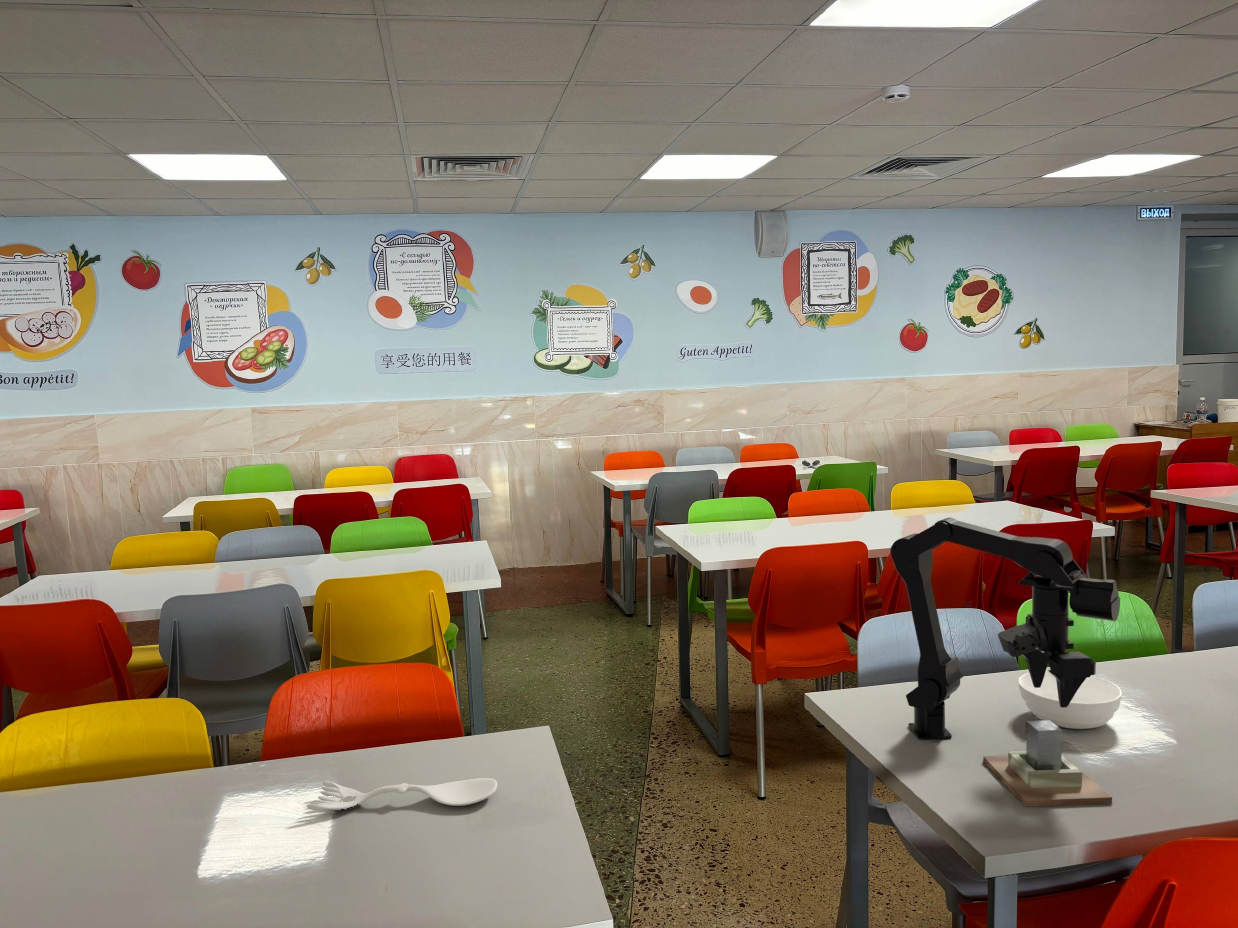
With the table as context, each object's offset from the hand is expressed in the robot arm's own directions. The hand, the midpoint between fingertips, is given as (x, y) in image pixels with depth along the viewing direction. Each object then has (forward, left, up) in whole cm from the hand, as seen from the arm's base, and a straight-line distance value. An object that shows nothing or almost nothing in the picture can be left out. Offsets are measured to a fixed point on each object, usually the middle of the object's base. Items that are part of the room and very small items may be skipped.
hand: (1049, 696), depth 146 cm
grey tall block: (+6, -4, -12) cm, 14 cm away
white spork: (+4, -115, -13) cm, 116 cm away
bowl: (-18, +13, -13) cm, 26 cm away
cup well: (+6, -4, -12) cm, 14 cm away
